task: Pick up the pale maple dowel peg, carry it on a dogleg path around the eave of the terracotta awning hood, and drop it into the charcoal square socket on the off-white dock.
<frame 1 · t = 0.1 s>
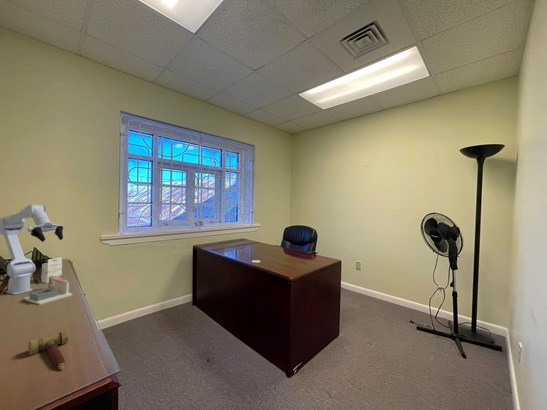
hand: (53, 239, 123), 32 cm above the table, tool tilted 50°, fingers open, 7 cm apart
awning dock: (48, 297, 126), on the table
gavel: (54, 358, 79), on the table
ink cartridge box: (51, 280, 152), on the table
maple peg: (52, 289, 138), on the table
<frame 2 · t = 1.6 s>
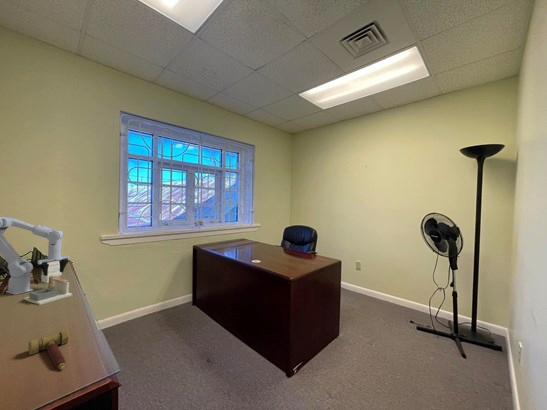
hand: (53, 273, 138), 9 cm above the table, tool pointing down, fingers open, 7 cm apart
nothing on the table moved.
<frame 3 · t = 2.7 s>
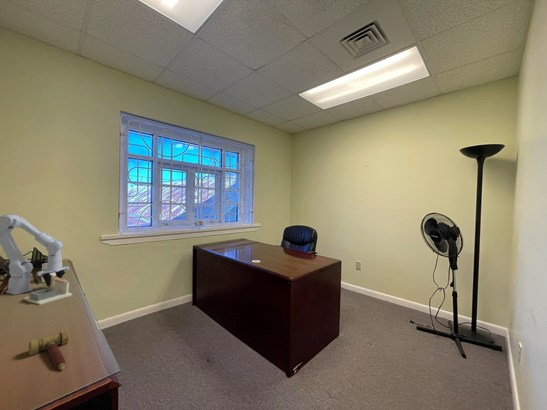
hand: (53, 284, 138), 2 cm above the table, tool pointing down, fingers closed on maple peg, 4 cm apart
maple peg: (52, 288, 138), on the table, touching gripper
everything else where it was.
when the fingers open (5 cm above the table, at t = 6.5 s): maple peg drops 2 cm, resting on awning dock.
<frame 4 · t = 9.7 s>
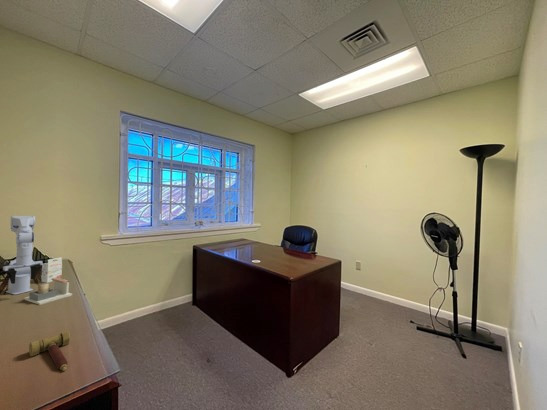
hand: (23, 281, 123), 9 cm above the table, tool pointing down, fingers open, 7 cm apart
maple peg: (42, 297, 124), point 1 cm above the table, touching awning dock
at the end: maple peg 0.1 cm from the target spot on the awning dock, point 1.0 cm above the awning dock's base; maple peg tilted 0°; the gripper is holding nothing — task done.
